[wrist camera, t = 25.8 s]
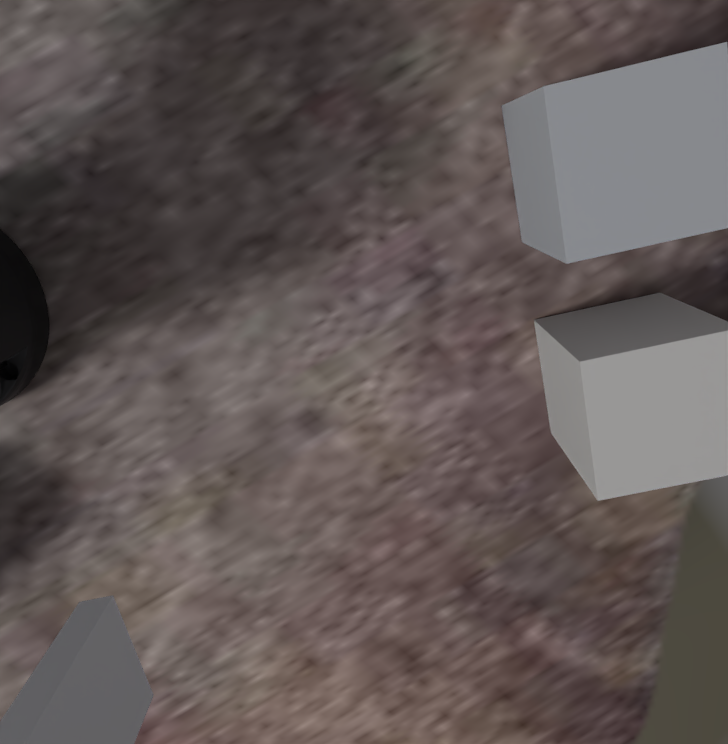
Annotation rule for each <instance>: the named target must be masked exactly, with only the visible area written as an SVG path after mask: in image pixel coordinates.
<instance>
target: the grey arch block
mask: <svg viewBox="0 0 728 744" xmlns="http://www.w3.org/2000/svg"><path fill="white" fill-rule="evenodd" d="M502 113H503V119H504V126H505V133H506V139H507V146H508V152H509V159H510V166H511V172H512V179H513V186H514V192H515V199H516V205H517V212H518V219H519V225H520V232H521V239H522V242H523V243H525V244H527V245H529V246H531V247H533V248H535V249H537V250H539V251H541V252H543V253H545V254H547V255H549V256H552V257H554V258H556V259H558V260H560V261H562V262H564V263H566V264H568V263H572V262H577V261H581V260H586V259H590V258H595V257H599V256H604V255H608V254H613V253H617V252H622V251H626V250H631V249H635V248H640V247H644V246H649V245H653V244H658V243H662V242H667V241H671V240H676V239H680V238H685V237H689V236H694V235H698V234H703V233H707V232H712V231H716V230H721V229H725V228H728V48H727V42H724V43H720V44H716V45H712V46H708V47H704V48H700V49H695V50H691V51H687V52H683V53H679V54H675V55H671V56H667V57H663V58H658V59H654V60H650V61H646V62H642V63H638V64H634V65H630V66H625V67H621V68H617V69H613V70H609V71H605V72H601V73H597V74H593V75H588V76H584V77H580V78H576V79H572V80H568V81H564V82H560V83H555V84H551V85H547V86H543V87H541V88H539V89H537V90H535V91H532V92H530V93H528V94H526V95H524V96H522V97H519V98H517V99H515V100H513V101H511V102H509V103H506V104H504V105H502Z"/></svg>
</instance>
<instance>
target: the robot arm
mask: <svg viewBox="0 0 728 744" xmlns="http://www.w3.org/2000/svg"><path fill="white" fill-rule="evenodd" d="M48 335H49V318H48V310H47V304H46V300H45V296H44V293H43V290H42V287H41V285H40V282H39V280H38V278H37V276H36V274H35V272H34V270H33V268H32V266H31V265H30V263H29V261H28V260H27V258H26V257H25V256H24V254H23V253H22V252H21V250H20V249H19V248H18V247H17V246H16V244H15V243H14V242H13V241H12V240H11V239H10V238H9V237H8V236H7V235H6V234H5V233H4V232H3V231H1V230H0V406H1V405H2V404H4V403H5V402H7V401H9V400H10V399H12V398H13V397H15V396H16V395H17V394H18V393H20V392H21V391H22V390H23V389H24V388H25V387H26V386H27V385H28V384H29V383H30V381H31V380H32V379H33V377H34V376H35V374H36V373H37V371H38V369H39V367H40V365H41V363H42V361H43V358H44V355H45V352H46V348H47V343H48ZM152 698H153V693H152V690H151V688H150V685H149V683H148V680H147V678H146V675H145V673H144V671H143V668H142V666H141V663H140V661H139V658H138V656H137V653H136V651H135V648H134V646H133V643H132V641H131V639H130V636H129V634H128V631H127V629H126V626H125V624H124V621H123V619H122V616H121V614H120V612H119V609H118V607H117V604H116V602H115V599H114V597H113V596H108V597H103V598H97V599H92V600H87V601H82V602H79V604H78V605H77V607H76V608H75V610H74V611H73V613H72V614H71V616H70V617H69V619H68V620H67V622H66V623H65V625H64V626H63V628H62V629H61V631H60V632H59V634H58V635H57V637H56V638H55V640H54V641H53V643H52V644H51V646H50V647H49V649H48V650H47V652H46V653H45V655H44V656H43V658H42V659H41V661H40V662H39V664H38V665H37V667H36V668H35V670H34V671H33V673H32V674H31V676H30V677H29V679H28V680H27V682H26V684H25V685H24V687H23V688H22V690H21V691H20V693H19V694H18V696H17V697H16V699H15V700H14V702H13V703H12V705H11V706H10V708H9V709H8V711H7V712H6V714H5V715H4V717H3V718H2V720H1V721H0V744H134V742H135V740H136V737H137V735H138V732H139V730H140V727H141V725H142V723H143V720H144V718H145V715H146V713H147V710H148V708H149V705H150V703H151V700H152Z"/></svg>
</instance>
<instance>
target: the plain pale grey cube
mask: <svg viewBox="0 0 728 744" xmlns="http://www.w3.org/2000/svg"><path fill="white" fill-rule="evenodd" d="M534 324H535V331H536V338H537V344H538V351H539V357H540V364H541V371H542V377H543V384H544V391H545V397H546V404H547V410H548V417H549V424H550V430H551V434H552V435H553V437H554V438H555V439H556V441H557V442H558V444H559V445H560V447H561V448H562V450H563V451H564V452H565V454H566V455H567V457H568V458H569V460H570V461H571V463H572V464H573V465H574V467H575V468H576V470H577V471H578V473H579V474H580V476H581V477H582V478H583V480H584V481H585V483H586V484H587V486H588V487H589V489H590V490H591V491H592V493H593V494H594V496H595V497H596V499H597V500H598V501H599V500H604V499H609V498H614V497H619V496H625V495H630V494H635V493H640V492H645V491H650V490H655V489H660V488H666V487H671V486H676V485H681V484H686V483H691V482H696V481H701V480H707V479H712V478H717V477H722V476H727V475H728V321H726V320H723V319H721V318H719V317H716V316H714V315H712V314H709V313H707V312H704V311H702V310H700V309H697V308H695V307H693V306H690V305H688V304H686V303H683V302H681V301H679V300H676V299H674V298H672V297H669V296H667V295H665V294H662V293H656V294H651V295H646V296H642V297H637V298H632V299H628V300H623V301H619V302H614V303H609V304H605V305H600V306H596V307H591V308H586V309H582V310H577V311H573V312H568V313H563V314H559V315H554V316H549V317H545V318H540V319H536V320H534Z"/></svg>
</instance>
